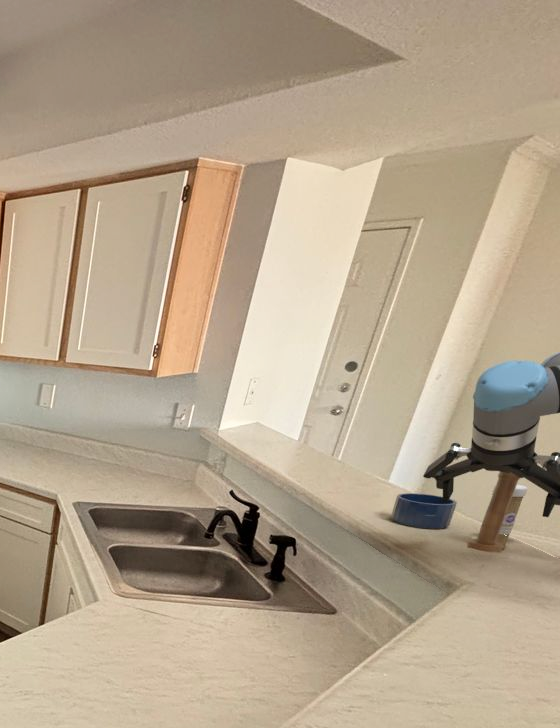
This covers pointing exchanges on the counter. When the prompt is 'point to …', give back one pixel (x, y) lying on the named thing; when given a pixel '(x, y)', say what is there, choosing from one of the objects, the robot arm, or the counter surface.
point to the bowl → (423, 511)
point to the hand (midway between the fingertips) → (495, 503)
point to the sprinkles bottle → (510, 514)
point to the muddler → (495, 514)
